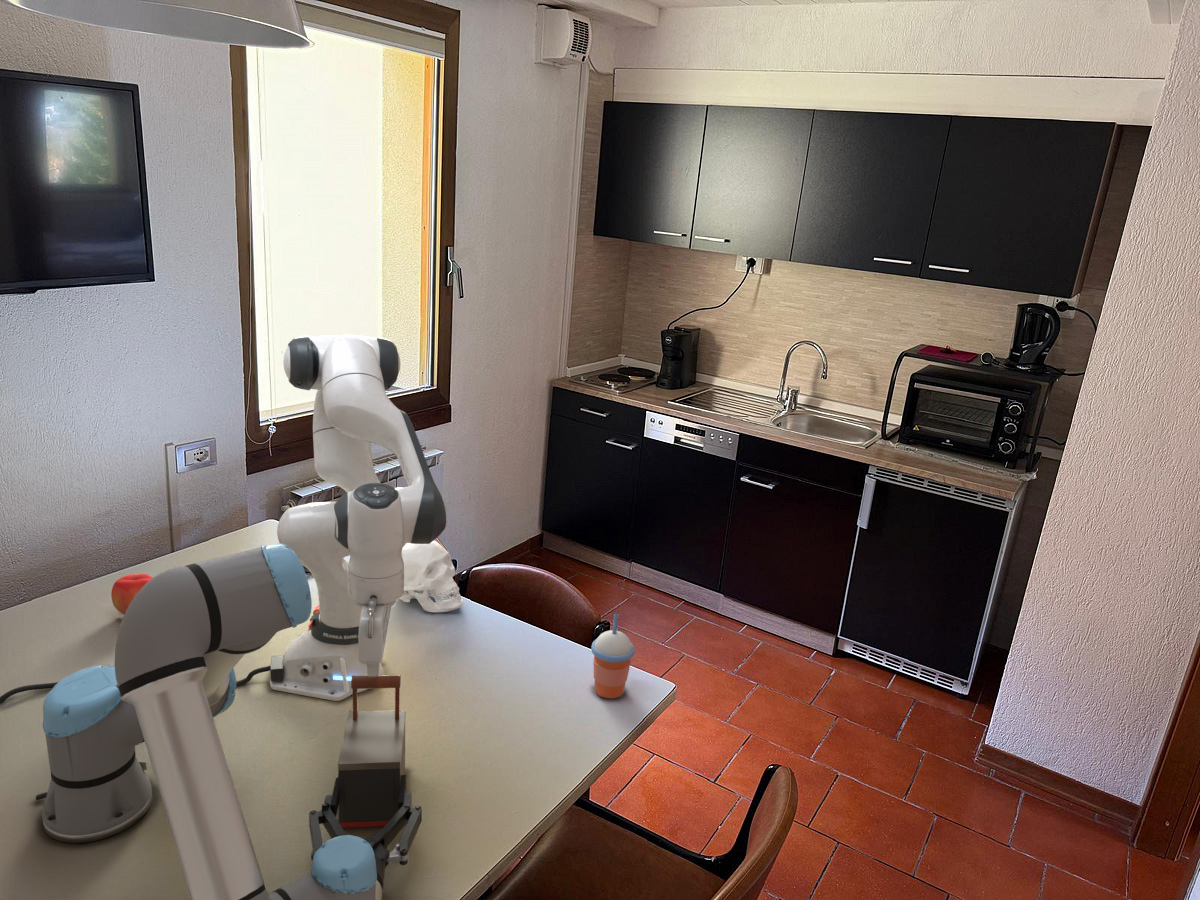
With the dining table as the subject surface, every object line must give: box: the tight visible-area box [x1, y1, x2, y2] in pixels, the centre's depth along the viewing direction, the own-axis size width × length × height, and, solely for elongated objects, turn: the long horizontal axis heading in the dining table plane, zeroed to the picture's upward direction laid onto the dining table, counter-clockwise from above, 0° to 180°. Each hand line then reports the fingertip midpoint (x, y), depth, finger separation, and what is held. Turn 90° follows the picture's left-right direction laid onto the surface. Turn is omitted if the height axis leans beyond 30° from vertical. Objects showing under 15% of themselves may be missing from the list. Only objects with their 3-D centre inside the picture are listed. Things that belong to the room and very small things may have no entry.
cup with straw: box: [590, 613, 636, 699], centre depth 179 cm, size 9×9×18 cm
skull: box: [399, 540, 465, 614], centre depth 211 cm, size 13×22×16 cm, turn 67°
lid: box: [337, 674, 407, 771], centre depth 141 cm, size 14×10×10 cm
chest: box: [337, 727, 406, 829], centre depth 144 cm, size 13×10×11 cm
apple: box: [110, 573, 154, 616], centre depth 194 cm, size 10×10×10 cm
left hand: (371, 783), depth 140 cm, fingers closed on chest, 10 cm apart
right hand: (376, 658), depth 143 cm, fingers open, 8 cm apart
